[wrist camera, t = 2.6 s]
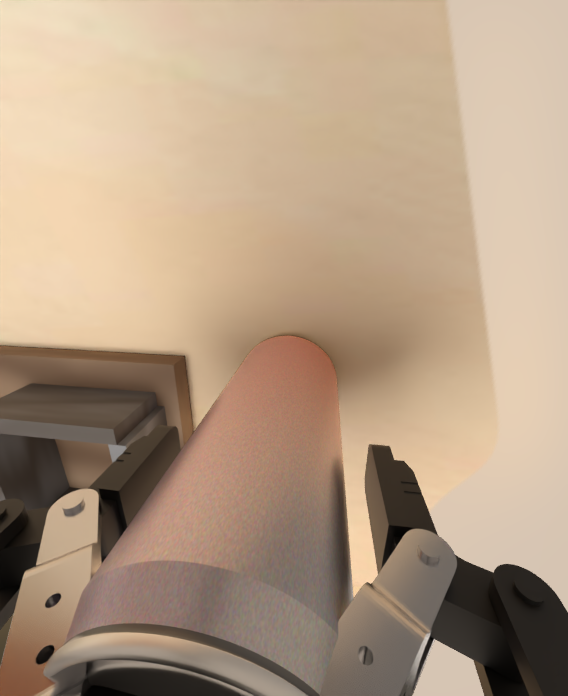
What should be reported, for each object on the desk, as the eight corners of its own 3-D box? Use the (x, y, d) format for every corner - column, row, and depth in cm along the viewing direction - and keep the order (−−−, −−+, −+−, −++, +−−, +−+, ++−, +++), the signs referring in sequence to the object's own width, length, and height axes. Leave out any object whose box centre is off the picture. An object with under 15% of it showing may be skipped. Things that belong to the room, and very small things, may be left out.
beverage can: (330, 422, 20) (340, 866, 6) (243, 410, 20) (57, 783, 6) (342, 337, 18) (405, 707, 4) (245, 327, 18) (-25, 608, 4)
